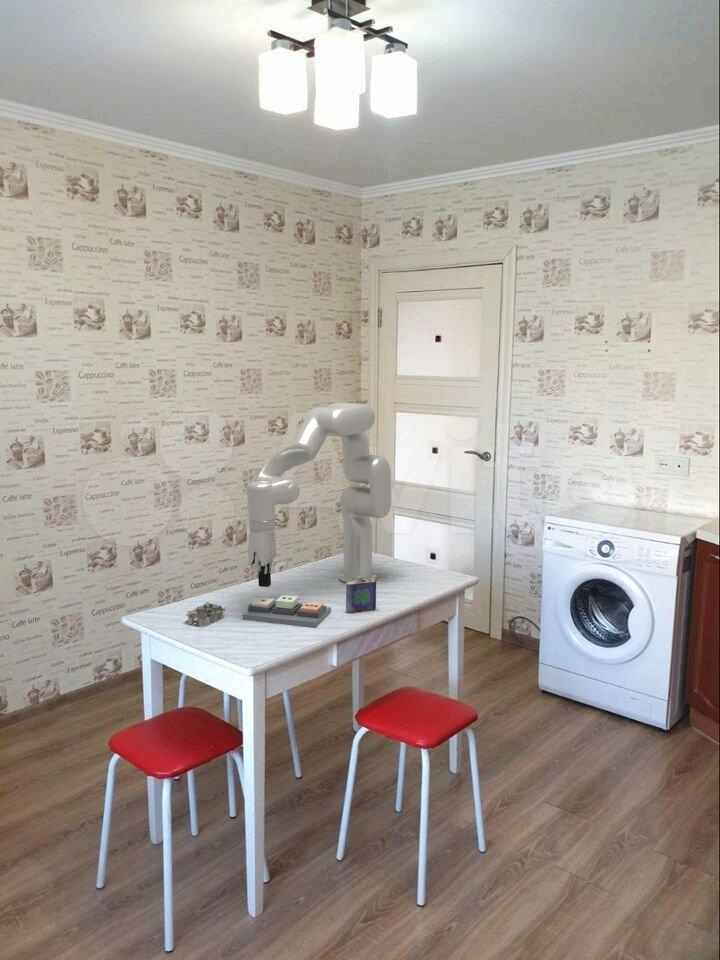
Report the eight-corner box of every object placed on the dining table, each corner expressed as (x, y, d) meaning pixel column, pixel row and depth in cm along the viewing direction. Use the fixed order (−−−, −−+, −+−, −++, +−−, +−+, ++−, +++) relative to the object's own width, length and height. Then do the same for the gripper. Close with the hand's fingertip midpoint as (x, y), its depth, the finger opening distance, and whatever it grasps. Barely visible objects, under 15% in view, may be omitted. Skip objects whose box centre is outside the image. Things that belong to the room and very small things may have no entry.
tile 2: (282, 601, 220) (282, 594, 220) (298, 603, 219) (298, 596, 219) (275, 607, 216) (275, 599, 215) (292, 608, 214) (291, 601, 214)
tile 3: (306, 608, 219) (306, 601, 218) (322, 610, 217) (322, 603, 217) (300, 614, 214) (300, 607, 214) (317, 616, 212) (316, 608, 212)
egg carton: (204, 629, 209) (203, 615, 208) (183, 624, 212) (182, 610, 211) (228, 617, 218) (228, 603, 217) (208, 612, 221) (207, 599, 221)
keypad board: (261, 605, 227) (261, 595, 227) (330, 612, 221) (330, 602, 220) (242, 619, 215) (242, 609, 214) (315, 627, 209) (315, 617, 208)
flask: (347, 614, 220) (347, 578, 218) (344, 610, 222) (344, 575, 221) (377, 610, 223) (377, 575, 221) (373, 607, 225) (374, 572, 224)
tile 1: (258, 604, 223) (258, 596, 222) (274, 605, 221) (274, 598, 221) (251, 609, 218) (251, 602, 218) (267, 611, 217) (267, 603, 216)
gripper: (260, 517, 224) (263, 577, 227) (238, 530, 210) (241, 593, 213) (284, 519, 222) (286, 578, 225) (263, 532, 208) (266, 595, 211)
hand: (264, 585), depth 219 cm, fingers closed
